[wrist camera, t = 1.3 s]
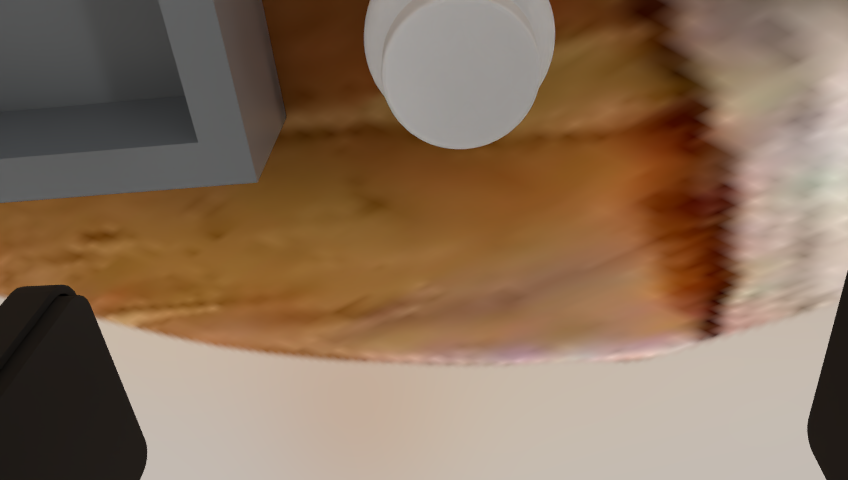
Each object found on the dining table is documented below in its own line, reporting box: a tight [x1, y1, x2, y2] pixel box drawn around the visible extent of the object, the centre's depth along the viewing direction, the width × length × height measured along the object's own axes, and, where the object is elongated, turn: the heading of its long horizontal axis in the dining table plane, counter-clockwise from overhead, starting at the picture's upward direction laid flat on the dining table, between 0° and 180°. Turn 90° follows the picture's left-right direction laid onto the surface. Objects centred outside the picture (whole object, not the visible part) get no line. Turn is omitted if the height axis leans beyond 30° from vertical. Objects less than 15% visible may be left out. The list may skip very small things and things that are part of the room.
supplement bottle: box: [364, 0, 555, 149], centre depth 22 cm, size 5×5×10 cm
